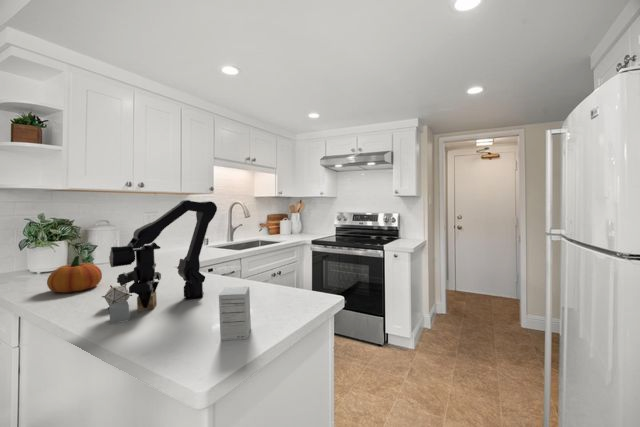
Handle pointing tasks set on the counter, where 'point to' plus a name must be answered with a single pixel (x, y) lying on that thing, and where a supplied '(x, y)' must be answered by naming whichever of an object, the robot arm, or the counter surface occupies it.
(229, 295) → the supplement box
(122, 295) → the game die
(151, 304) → the brown metallic block
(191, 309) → the counter surface
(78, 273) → the pumpkin
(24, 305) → the counter surface
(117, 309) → the grey block
